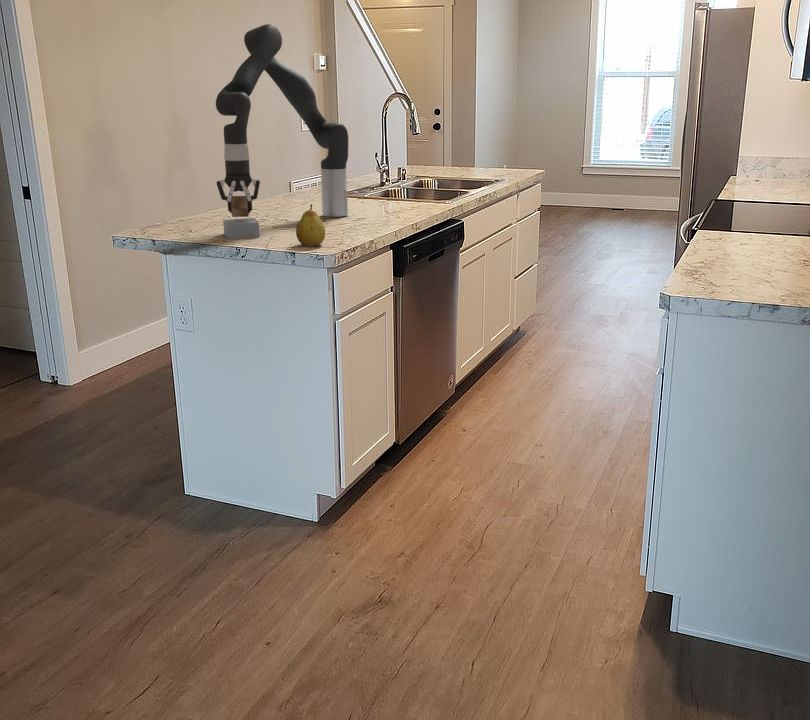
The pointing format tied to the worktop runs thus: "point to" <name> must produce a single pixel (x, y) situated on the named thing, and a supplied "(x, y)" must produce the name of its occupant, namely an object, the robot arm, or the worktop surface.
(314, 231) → the fruit
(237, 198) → the walnut block
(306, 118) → the robot arm
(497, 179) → the worktop surface
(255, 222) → the base block
